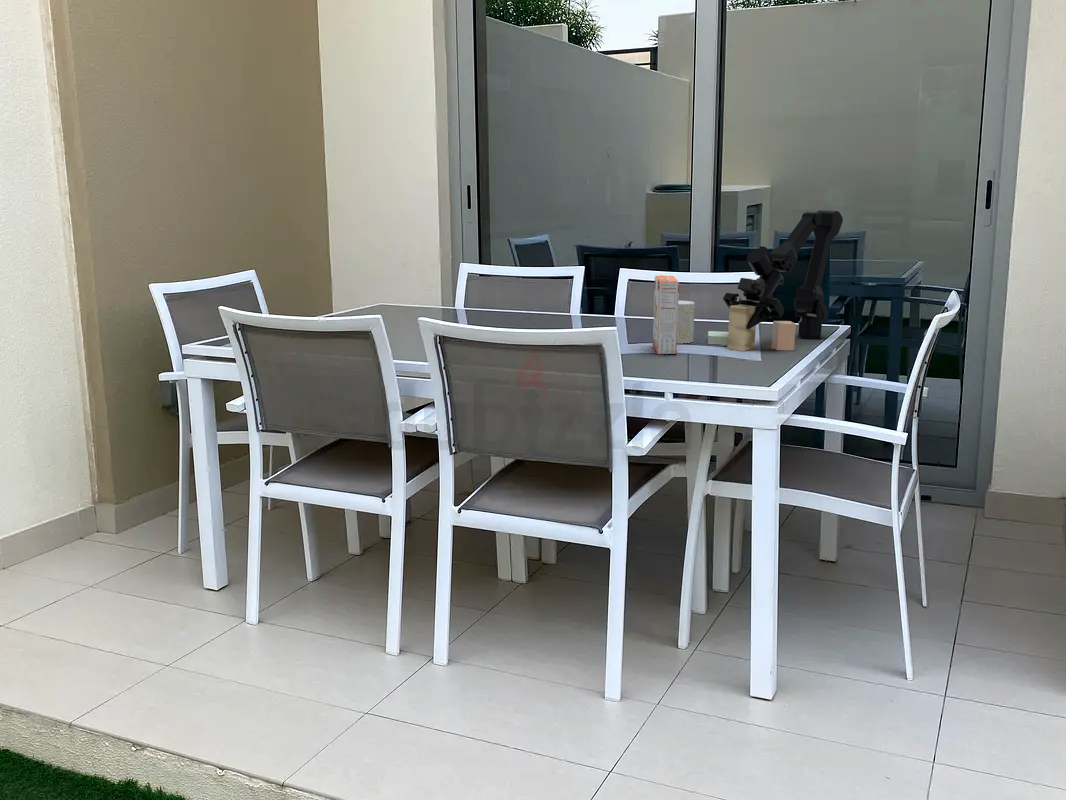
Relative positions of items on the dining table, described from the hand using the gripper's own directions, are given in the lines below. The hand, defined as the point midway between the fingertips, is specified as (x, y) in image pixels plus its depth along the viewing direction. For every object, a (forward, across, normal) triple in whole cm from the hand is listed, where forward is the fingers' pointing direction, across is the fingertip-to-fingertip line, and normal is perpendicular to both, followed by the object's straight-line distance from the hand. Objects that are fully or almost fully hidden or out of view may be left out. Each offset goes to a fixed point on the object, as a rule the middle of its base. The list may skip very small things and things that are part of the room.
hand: (739, 326), depth 298 cm
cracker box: (+18, -12, -8) cm, 23 cm away
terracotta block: (-3, +8, +12) cm, 15 cm away
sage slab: (+1, -10, +9) cm, 14 cm away
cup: (+8, -19, +2) cm, 21 cm away
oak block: (+4, 0, +6) cm, 7 cm away
